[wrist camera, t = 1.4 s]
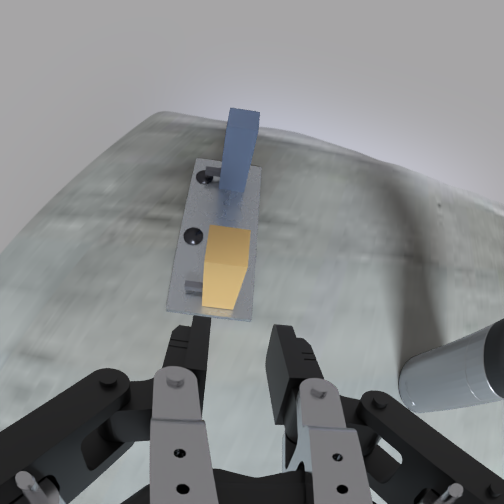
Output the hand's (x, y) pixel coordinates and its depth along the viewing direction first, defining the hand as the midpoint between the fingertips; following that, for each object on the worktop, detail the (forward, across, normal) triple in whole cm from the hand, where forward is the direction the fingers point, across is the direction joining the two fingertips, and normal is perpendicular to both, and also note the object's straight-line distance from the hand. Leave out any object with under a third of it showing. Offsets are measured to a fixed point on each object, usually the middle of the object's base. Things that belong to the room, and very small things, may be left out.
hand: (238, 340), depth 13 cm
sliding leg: (+27, +1, +11) cm, 29 cm away
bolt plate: (+35, +1, +4) cm, 36 cm away
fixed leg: (+41, +1, -3) cm, 41 cm away
